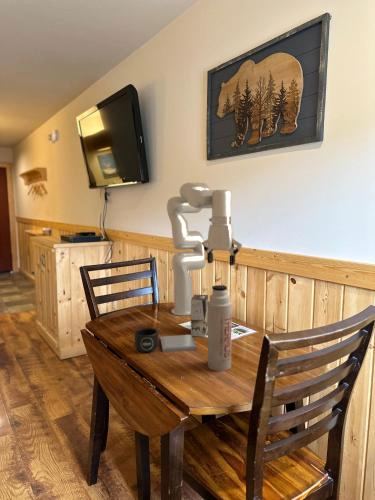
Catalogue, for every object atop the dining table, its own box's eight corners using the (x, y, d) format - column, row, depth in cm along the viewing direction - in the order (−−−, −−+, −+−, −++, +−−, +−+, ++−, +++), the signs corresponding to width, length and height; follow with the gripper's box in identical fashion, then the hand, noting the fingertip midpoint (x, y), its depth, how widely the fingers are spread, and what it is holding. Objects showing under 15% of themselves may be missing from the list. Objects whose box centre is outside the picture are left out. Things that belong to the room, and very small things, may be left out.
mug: (159, 353, 129) (158, 335, 129) (135, 355, 128) (134, 336, 127) (156, 341, 141) (156, 324, 140) (134, 342, 140) (134, 325, 139)
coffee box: (205, 337, 145) (205, 300, 143) (190, 336, 146) (190, 299, 144) (208, 329, 154) (208, 294, 152) (194, 328, 155) (194, 294, 153)
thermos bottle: (235, 368, 117) (236, 287, 113) (214, 372, 114) (214, 290, 110) (223, 358, 124) (224, 282, 121) (203, 363, 121) (203, 285, 117)
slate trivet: (160, 339, 143) (160, 336, 143) (191, 337, 145) (191, 334, 145) (162, 351, 130) (162, 348, 130) (196, 349, 132) (196, 346, 132)
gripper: (197, 221, 138) (197, 263, 140) (237, 222, 129) (237, 267, 131) (206, 220, 144) (206, 260, 146) (245, 221, 135) (244, 264, 137)
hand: (221, 263), depth 139 cm, fingers open, 9 cm apart
